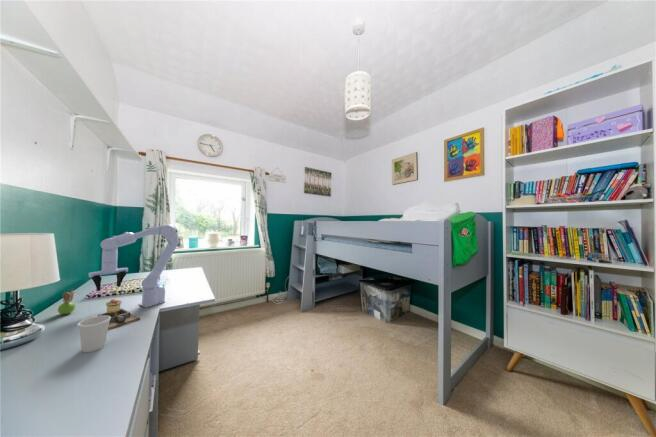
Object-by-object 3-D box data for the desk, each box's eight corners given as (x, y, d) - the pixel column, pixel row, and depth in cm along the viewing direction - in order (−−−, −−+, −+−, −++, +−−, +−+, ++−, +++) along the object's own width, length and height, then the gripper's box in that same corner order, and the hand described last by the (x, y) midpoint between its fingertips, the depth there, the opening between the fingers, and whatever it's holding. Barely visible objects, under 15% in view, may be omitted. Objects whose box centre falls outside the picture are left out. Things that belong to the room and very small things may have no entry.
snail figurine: (64, 317, 103) (65, 291, 103) (54, 315, 105) (55, 289, 105) (79, 312, 109) (80, 287, 109) (69, 310, 110) (70, 286, 110)
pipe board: (123, 312, 111) (123, 306, 111) (139, 319, 103) (140, 313, 103) (89, 321, 100) (89, 314, 100) (105, 330, 93) (105, 323, 93)
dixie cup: (89, 356, 76) (90, 326, 76) (69, 352, 78) (70, 324, 78) (116, 342, 84) (117, 316, 85) (97, 340, 86) (98, 314, 86)
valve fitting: (117, 314, 106) (119, 297, 106) (122, 317, 103) (123, 300, 103) (103, 318, 101) (104, 300, 101) (107, 321, 99) (108, 303, 99)
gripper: (124, 258, 122) (123, 283, 122) (86, 263, 109) (85, 290, 109) (130, 260, 119) (129, 285, 119) (92, 264, 106) (91, 293, 106)
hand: (108, 288), depth 114 cm, fingers open, 7 cm apart
